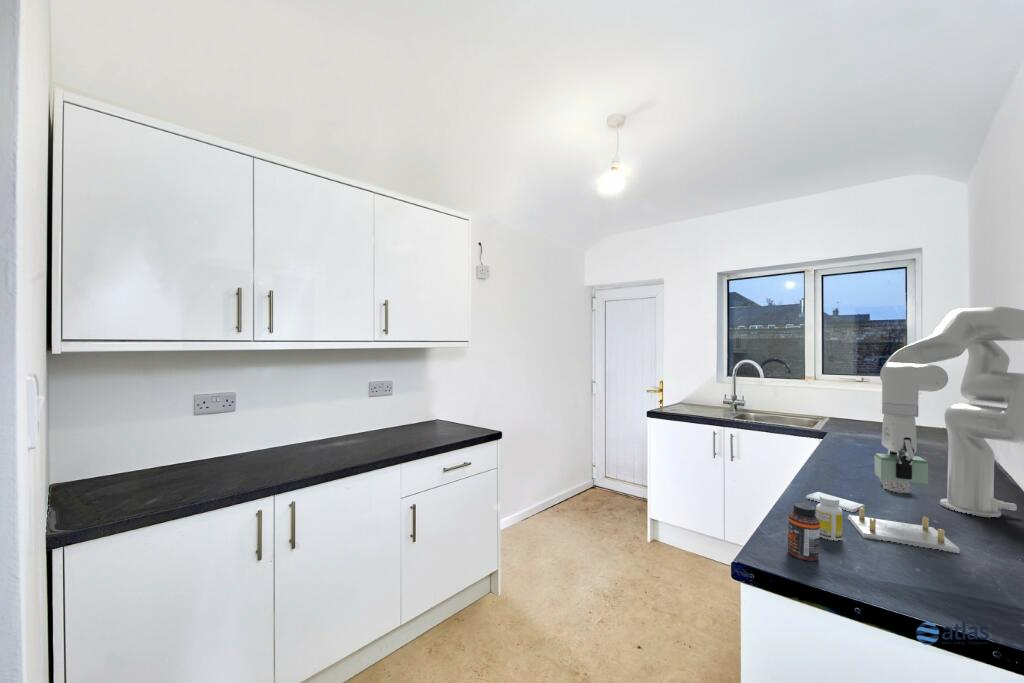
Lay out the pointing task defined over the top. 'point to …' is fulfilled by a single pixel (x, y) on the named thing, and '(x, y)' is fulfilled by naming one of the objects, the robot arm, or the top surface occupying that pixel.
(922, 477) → the block
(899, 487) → the mug
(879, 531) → the plate
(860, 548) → the top surface
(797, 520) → the supplement bottle
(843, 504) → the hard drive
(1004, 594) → the top surface
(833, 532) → the supplement bottle
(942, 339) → the robot arm
